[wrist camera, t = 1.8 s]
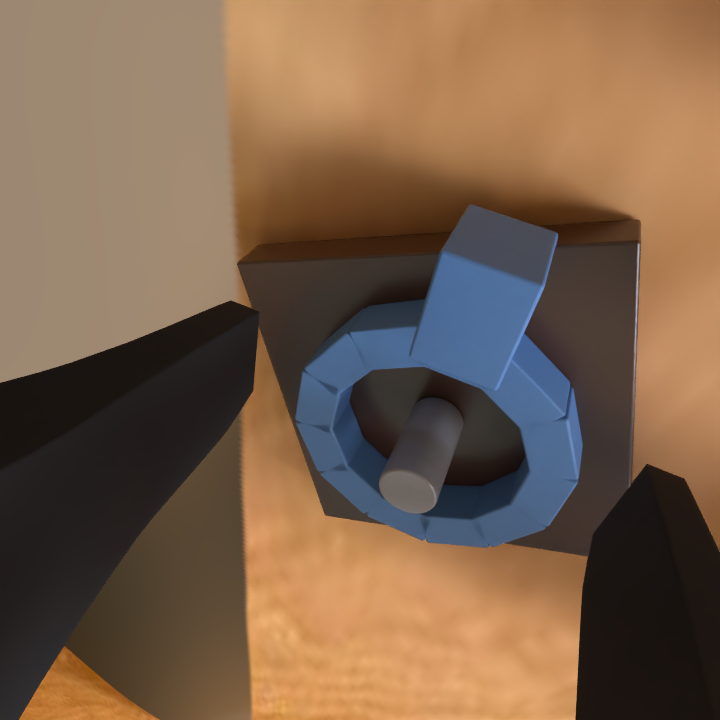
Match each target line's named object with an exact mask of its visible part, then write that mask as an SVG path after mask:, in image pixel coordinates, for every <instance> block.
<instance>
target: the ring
mask: <svg viewBox="0 0 720 720" xmlns="http://www.w3.org/2000/svg"><path fill="white" fill-rule="evenodd" d="M557 239H558V234H557V233H556V232H554V231H551V230H548V229H545V228H542V227H539V226H536V225H533V224H530V223H527V222H524V221H521V220H518V219H515V218H512V217H509V216H506V215H503V214H500V213H497V212H494V211H491V210H488V209H485V208H481V207H478V206H475V205H469V206H468V207H467V209H466V210H465V212H464V214H463V215H462V217H461V218H460V220H459V222H458V223H457V225H456V226H455V228H454V230H453V231H452V233H451V235H450V236H449V238H448V239H447V241H446V243H445V244H444V246H443V247H442V249H441V251H440V253H439V256H438V259H437V263H436V266H435V269H434V272H433V276H432V279H431V282H430V286H429V289H428V292H427V296H426V299H422V300H414V301H405V302H397V303H388V304H380V305H371V306H368V307H367V308H363V309H362V310H360V311H359V312H358V313H357V314H356V315H355V316H353V317H352V318H351V319H350V320H349V321H348V322H346V323H345V324H344V325H343V326H342V327H341V328H339V329H338V330H337V331H336V332H335V333H334V334H332V335H331V336H330V337H329V338H328V339H327V340H325V341H324V342H323V343H322V345H321V346H320V347H319V349H318V350H317V351H316V353H315V354H314V355H313V356H312V358H311V359H310V360H309V362H308V363H307V364H306V366H305V368H304V370H303V371H302V376H301V383H300V389H299V396H298V402H297V409H296V416H295V419H296V420H297V421H296V425H297V427H298V429H299V431H300V433H301V436H302V438H303V440H304V442H305V444H306V447H307V449H308V451H309V453H310V455H311V457H312V460H313V462H314V464H315V466H316V468H317V470H318V471H321V473H320V474H321V475H322V476H323V477H324V478H325V479H326V480H327V481H328V482H329V483H330V484H331V485H333V486H334V487H335V488H336V489H337V490H338V491H339V492H340V493H341V494H342V495H344V496H345V497H346V498H347V499H348V500H349V501H350V502H351V503H352V504H353V505H354V506H356V507H357V508H358V509H359V510H360V511H361V512H362V513H366V512H367V516H368V517H370V518H373V519H375V520H377V521H379V522H382V523H384V524H386V525H388V526H391V527H393V528H395V529H397V530H400V531H402V532H404V533H406V534H409V535H411V536H413V537H415V538H418V539H420V540H423V541H424V540H425V538H426V540H427V542H429V543H440V544H451V545H462V546H473V547H484V548H488V547H489V545H490V546H491V547H495V546H498V545H501V544H503V543H506V542H509V541H512V540H515V539H518V538H521V537H524V536H527V535H529V534H532V533H535V532H538V531H541V530H544V529H545V528H546V526H549V525H550V524H551V522H552V521H553V519H554V518H555V516H556V515H557V513H558V512H559V510H560V509H561V507H562V506H563V504H564V503H565V501H566V500H567V498H568V497H569V495H570V494H571V493H572V491H573V490H574V488H575V487H576V485H577V484H578V478H579V473H580V464H581V455H582V447H583V443H582V437H581V431H580V425H579V419H578V413H577V407H576V401H575V395H574V389H573V388H572V387H571V386H570V381H569V380H568V379H567V378H566V377H565V376H564V375H563V374H562V373H561V372H560V371H559V369H558V368H557V367H556V366H555V365H554V364H553V363H552V362H551V361H550V360H549V359H548V358H547V357H546V356H545V355H544V354H543V353H542V351H541V350H540V349H539V348H538V347H537V346H536V345H535V344H534V343H533V342H532V341H531V340H530V339H529V338H528V337H527V336H526V335H525V334H524V332H525V329H526V327H527V325H528V323H529V321H530V318H531V316H532V314H533V312H534V310H535V307H536V305H537V303H538V301H539V299H540V296H541V294H542V292H543V290H544V287H545V283H546V280H547V276H548V272H549V268H550V265H551V261H552V257H553V254H554V250H555V246H556V242H557ZM409 367H426V368H429V369H432V370H434V371H437V372H439V373H442V374H444V375H447V376H450V377H452V378H455V379H457V380H460V381H462V382H465V383H467V384H470V385H473V386H475V387H478V388H480V389H482V390H483V391H484V392H485V393H486V394H487V395H488V397H489V398H490V399H491V400H492V401H493V402H494V403H495V404H496V405H497V406H498V407H499V408H500V409H501V410H502V411H503V412H504V413H505V414H506V415H507V416H508V417H509V418H510V419H511V420H512V421H513V422H514V423H515V424H516V425H517V426H518V427H519V429H520V433H521V437H522V442H523V446H524V450H525V455H526V456H525V458H524V460H523V462H522V464H521V465H520V467H519V469H518V470H517V471H515V472H513V473H511V474H508V475H506V476H504V477H502V478H499V479H497V480H495V481H493V482H490V483H488V484H486V485H484V486H461V485H443V486H442V488H441V491H440V494H439V497H438V500H437V503H436V505H435V506H434V507H433V508H432V509H431V510H429V511H427V512H424V513H409V512H405V511H402V510H400V509H398V508H396V507H394V506H393V505H391V504H390V503H389V502H388V501H387V500H386V499H385V498H384V497H383V495H382V494H381V492H380V489H379V478H380V476H381V474H382V472H383V470H384V467H385V465H386V463H387V461H388V460H387V459H386V458H385V457H384V456H383V455H382V454H381V453H380V452H379V451H378V450H377V449H376V448H374V447H373V446H372V445H371V444H370V443H369V442H368V441H367V440H366V439H365V438H364V437H363V435H362V432H361V430H360V427H359V425H358V422H357V420H356V417H355V415H354V412H353V410H352V407H351V405H350V402H349V401H350V397H351V392H352V388H353V384H354V383H355V382H356V381H358V380H359V379H361V378H362V377H363V376H365V375H366V374H367V373H369V372H370V371H371V370H375V369H392V368H409Z"/></svg>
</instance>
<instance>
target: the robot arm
mask: <svg viewBox="0 0 720 720" xmlns="http://www.w3.org/2000/svg"><path fill="white" fill-rule="evenodd" d="M259 313H260V312H259V311H256V310H254V309H251V308H249V307H246V306H244V305H241V304H239V303H236V302H234V301H228V302H226V303H223V304H220V305H218V306H215V307H213V308H211V309H208V310H206V311H203V312H201V313H199V314H196V315H194V316H192V317H189V318H187V319H184V320H182V321H180V322H177V323H175V324H173V325H170V326H168V327H165V328H163V329H160V330H158V331H155V332H153V333H150V334H148V335H145V336H143V337H141V338H138V339H135V340H133V341H130V342H128V343H125V344H122V345H120V346H117V347H114V348H111V349H108V350H105V351H103V352H100V353H97V354H94V355H91V356H88V357H86V358H83V359H80V360H78V361H74V362H72V363H69V364H65V365H62V366H59V367H56V368H52V369H50V370H46V371H42V372H39V373H35V374H32V375H28V376H24V377H20V378H17V379H13V380H10V381H6V382H2V383H0V720H19V718H20V717H21V715H22V713H23V712H24V710H25V708H26V707H27V705H28V703H29V702H30V700H31V698H32V697H33V695H34V693H35V691H36V690H37V688H38V686H39V685H40V683H41V681H42V680H43V678H44V677H45V675H46V674H47V672H48V670H49V669H50V667H51V666H52V664H53V663H54V661H55V659H56V658H57V656H58V655H59V653H60V651H61V650H62V648H63V647H64V645H65V643H66V642H67V640H68V639H69V637H70V636H71V634H72V632H73V631H74V629H75V628H76V626H77V625H78V623H79V621H80V620H81V619H82V617H83V616H84V614H85V613H86V611H87V609H88V608H89V607H90V605H91V604H92V602H93V601H94V599H95V598H96V596H97V595H98V593H99V592H100V590H101V589H102V587H103V586H104V584H105V583H106V581H107V580H108V578H109V577H110V575H111V574H112V573H113V571H114V570H115V568H116V567H117V565H118V564H119V563H120V561H121V560H122V558H123V557H124V556H125V554H126V553H127V551H128V550H129V548H130V547H131V546H132V544H133V543H134V541H135V540H136V538H137V537H138V536H139V535H140V533H141V532H142V531H143V529H144V528H145V527H146V526H147V524H148V523H149V522H150V521H151V519H152V518H153V517H154V516H155V515H156V513H157V512H158V511H159V510H160V509H161V507H162V506H163V505H164V504H165V503H166V502H167V501H168V499H169V498H170V497H171V496H172V495H173V494H174V493H175V491H176V490H177V489H178V488H179V487H180V486H181V484H182V483H183V482H184V481H185V480H186V479H187V477H188V476H189V475H190V474H191V473H192V472H193V471H194V469H195V468H196V467H197V466H198V465H199V464H200V462H201V461H202V460H203V459H204V458H205V457H206V455H207V454H208V453H209V452H210V451H211V450H212V448H213V447H214V446H215V445H216V444H217V442H218V441H219V440H220V439H221V438H222V436H223V435H224V434H225V433H226V431H227V430H228V429H229V427H230V426H231V424H232V423H233V421H234V420H235V418H236V417H237V415H238V414H239V412H240V411H241V409H242V407H243V406H244V404H245V403H246V401H247V400H248V398H249V396H250V395H251V393H252V392H253V385H254V373H255V361H256V349H257V337H258V325H259ZM576 720H720V552H719V549H718V547H717V545H716V543H715V541H714V539H713V537H712V535H711V533H710V531H709V529H708V526H707V524H706V522H705V520H704V518H703V516H702V514H701V512H700V510H699V507H698V505H697V503H696V501H695V499H694V497H693V495H692V493H691V491H690V489H689V487H688V485H687V483H686V481H685V479H684V478H681V477H679V476H676V475H674V474H671V473H669V472H666V471H663V470H661V469H658V468H656V467H653V466H651V465H648V464H647V465H646V466H645V467H644V468H643V470H642V471H641V472H640V474H639V475H638V476H637V478H636V479H635V480H634V481H633V483H632V484H631V485H630V487H629V488H628V489H627V490H626V492H625V493H624V494H623V496H622V497H621V498H620V499H619V501H618V502H617V503H616V505H615V506H614V507H613V508H612V510H611V511H610V512H609V514H608V515H607V516H606V517H605V519H604V520H603V521H602V523H601V524H600V525H599V526H598V528H597V529H596V530H595V532H594V533H593V536H592V541H591V546H590V551H589V556H588V561H587V566H586V572H585V577H584V583H583V590H582V605H581V623H580V641H579V662H578V682H577V702H576Z"/></svg>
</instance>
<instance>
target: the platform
mask: <svg viewBox="0 0 720 720" xmlns="http://www.w3.org/2000/svg"><path fill="white" fill-rule="evenodd" d="M539 227H542V228H545V229H548V230H551V231H554V232H556V233H557V234H558V239H557V242H556V246H555V250H554V254H553V257H552V261H551V265H550V268H549V272H548V276H547V280H546V283H545V287H544V290H543V292H542V294H541V296H540V299H539V301H538V303H537V305H536V307H535V310H534V312H533V314H532V316H531V318H530V321H529V323H528V325H527V327H526V329H525V332H524V334H525V335H526V336H527V337H528V338H529V339H530V340H531V341H532V342H533V343H534V344H535V345H536V346H537V347H538V348H539V349H540V350H541V351H542V353H543V354H544V355H545V356H546V357H547V358H548V359H549V360H550V361H551V362H552V363H553V364H554V365H555V366H556V367H557V368H558V369H559V371H560V372H561V373H562V374H563V375H564V376H565V377H566V378H567V379H568V380H569V381H570V386H571V387H572V388H573V389H574V395H575V401H576V407H577V413H578V419H579V425H580V431H581V437H582V443H583V447H582V455H581V464H580V473H579V478H578V484H577V485H576V487H575V488H574V490H573V491H572V493H571V494H570V495H569V497H568V498H567V500H566V501H565V503H564V504H563V506H562V507H561V509H560V510H559V512H558V513H557V515H556V516H555V518H554V519H553V521H552V522H551V524H550V525H549V526H546V528H545V529H544V530H541V531H538V532H535V533H532V534H529V535H527V536H524V537H521V538H518V539H515V540H512V541H509V542H506V543H505V544H511V545H518V546H524V547H531V548H537V549H543V550H550V551H556V552H563V553H569V554H575V555H582V556H589V551H590V546H591V541H592V536H593V533H594V532H595V530H596V529H597V528H598V526H599V525H600V524H601V523H602V521H603V520H604V519H605V517H606V516H607V515H608V514H609V512H610V511H611V510H612V508H613V507H614V506H615V505H616V503H617V502H618V501H619V499H620V498H621V497H622V496H623V494H624V493H625V492H626V490H627V489H628V488H629V487H630V485H631V484H632V468H633V440H634V413H635V386H636V359H637V332H638V305H639V278H640V251H641V222H640V220H623V221H608V222H594V223H579V224H564V225H549V226H539ZM451 233H452V232H445V233H430V234H415V235H400V236H386V237H371V238H356V239H341V240H326V241H311V242H297V243H282V244H267V245H258V246H257V247H255V248H254V249H253V250H252V251H251V252H249V253H248V254H247V255H246V256H245V257H243V258H242V259H241V260H240V261H239V262H238V263H237V265H238V268H239V271H240V274H241V277H242V280H243V282H244V285H245V288H246V291H247V294H248V297H249V300H250V302H251V305H252V308H253V309H254V310H256V311H259V312H260V313H259V328H260V331H261V334H262V337H263V340H264V342H265V345H266V348H267V351H268V354H269V357H270V359H271V362H272V365H273V368H274V371H275V374H276V377H277V379H278V382H279V385H280V388H281V391H282V394H283V397H284V399H285V402H286V405H287V408H288V411H289V414H290V417H291V419H292V422H293V425H294V428H295V431H296V434H297V437H298V439H299V442H300V445H301V448H302V451H303V454H304V457H305V459H306V462H307V465H308V468H309V471H310V474H311V476H312V479H313V482H314V485H315V488H316V491H317V494H318V496H319V499H320V502H321V505H322V508H323V511H324V514H325V515H326V516H332V517H338V518H345V519H351V520H357V521H364V522H370V523H377V524H383V525H386V524H384V523H382V522H379V521H377V520H375V519H373V518H370V517H368V516H367V512H366V513H362V512H361V511H360V510H359V509H358V508H357V507H356V506H354V505H353V504H352V503H351V502H350V501H349V500H348V499H347V498H346V497H345V496H344V495H342V494H341V493H340V492H339V491H338V490H337V489H336V488H335V487H334V486H333V485H331V484H330V483H329V482H328V481H327V480H326V479H325V478H324V477H323V476H322V475H321V474H320V473H321V471H318V470H317V468H316V466H315V464H314V462H313V460H312V457H311V455H310V453H309V451H308V449H307V447H306V444H305V442H304V440H303V438H302V436H301V433H300V431H299V429H298V427H297V425H296V421H297V420H296V419H295V416H296V409H297V402H298V396H299V389H300V383H301V376H302V371H303V370H304V368H305V366H306V364H307V363H308V362H309V360H310V359H311V358H312V356H313V355H314V354H315V353H316V351H317V350H318V349H319V347H320V346H321V345H322V343H323V342H324V341H325V340H327V339H328V338H329V337H330V336H331V335H332V334H334V333H335V332H336V331H337V330H338V329H339V328H341V327H342V326H343V325H344V324H345V323H346V322H348V321H349V320H350V319H351V318H352V317H353V316H355V315H356V314H357V313H358V312H359V311H360V310H362V309H363V308H367V307H368V306H371V305H380V304H388V303H397V302H405V301H414V300H422V299H426V296H427V292H428V289H429V286H430V282H431V279H432V276H433V272H434V269H435V266H436V263H437V259H438V256H439V253H440V251H441V249H442V247H443V246H444V244H445V243H446V241H447V239H448V238H449V236H450V235H451ZM349 402H350V405H351V407H352V410H353V412H354V415H355V417H356V420H357V422H358V425H359V427H360V430H361V432H362V435H363V437H364V438H365V439H366V440H367V441H368V442H369V443H370V444H371V445H372V446H373V447H374V448H376V449H377V450H378V451H379V452H380V453H381V454H382V455H383V456H384V457H385V458H386V459H387V460H388V461H387V463H386V465H385V467H384V470H383V472H382V474H381V476H380V478H379V489H380V492H381V494H382V495H383V497H384V498H385V499H386V500H387V501H388V502H389V503H390V504H391V505H393V506H394V507H396V508H398V509H400V510H402V511H405V512H409V513H424V512H427V511H429V510H431V509H432V508H433V507H434V506H435V505H436V503H437V500H438V497H439V494H440V491H441V488H442V486H443V485H461V486H484V485H486V484H488V483H490V482H493V481H495V480H497V479H499V478H502V477H504V476H506V475H508V474H511V473H513V472H515V471H517V470H518V469H519V467H520V465H521V464H522V462H523V460H524V458H525V456H526V455H525V450H524V446H523V442H522V437H521V433H520V429H519V427H518V426H517V425H516V424H515V423H514V422H513V421H512V420H511V419H510V418H509V417H508V416H507V415H506V414H505V413H504V412H503V411H502V410H501V409H500V408H499V407H498V406H497V405H496V404H495V403H494V402H493V401H492V400H491V399H490V398H489V397H488V395H487V394H486V393H485V392H484V391H483V390H482V389H480V388H478V387H475V386H473V385H470V384H467V383H465V382H462V381H460V380H457V379H455V378H452V377H450V376H447V375H444V374H442V373H439V372H437V371H434V370H432V369H429V368H426V367H409V368H392V369H375V370H371V371H370V372H369V373H367V374H366V375H365V376H363V377H362V378H361V379H359V380H358V381H356V382H355V383H354V384H353V388H352V392H351V397H350V401H349Z"/></svg>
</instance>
